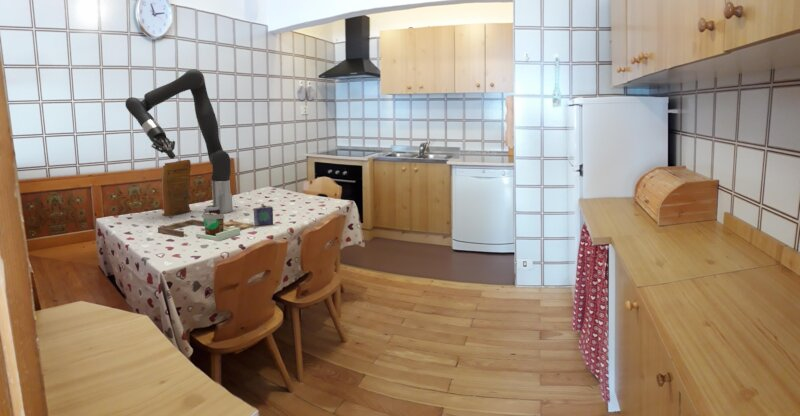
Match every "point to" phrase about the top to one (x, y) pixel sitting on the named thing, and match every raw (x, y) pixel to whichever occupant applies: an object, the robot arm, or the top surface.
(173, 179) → the pancake mix bag
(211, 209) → the mate gourd
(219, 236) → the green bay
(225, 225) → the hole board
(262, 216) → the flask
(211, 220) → the food container
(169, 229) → the walnut stall
